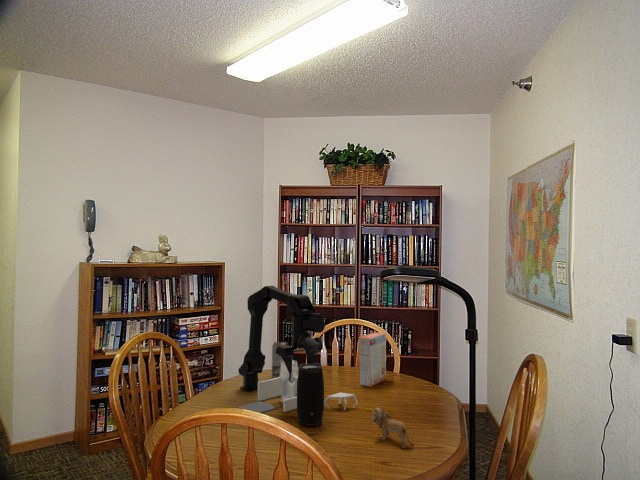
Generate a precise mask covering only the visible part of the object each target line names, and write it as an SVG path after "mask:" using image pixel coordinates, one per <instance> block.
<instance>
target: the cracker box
mask: <svg viewBox="0 0 640 480" xmlns="http://www.w3.org/2000/svg"><path fill="white" fill-rule="evenodd" d="M358 338H359V339H358V340H359V344H358V345H359V347H358V349H359V386H363V387H369V388H372V387H374V386H377V385H378V384H379V383H382V382H384V381H386V380H387V374H386V373H387V362H386V361H387V360H386V359H387V352H386V347H387V345H386V333H384V332H377V331H376V332H371V333H368V334H365V335H362V336H359V337H358Z"/></svg>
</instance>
